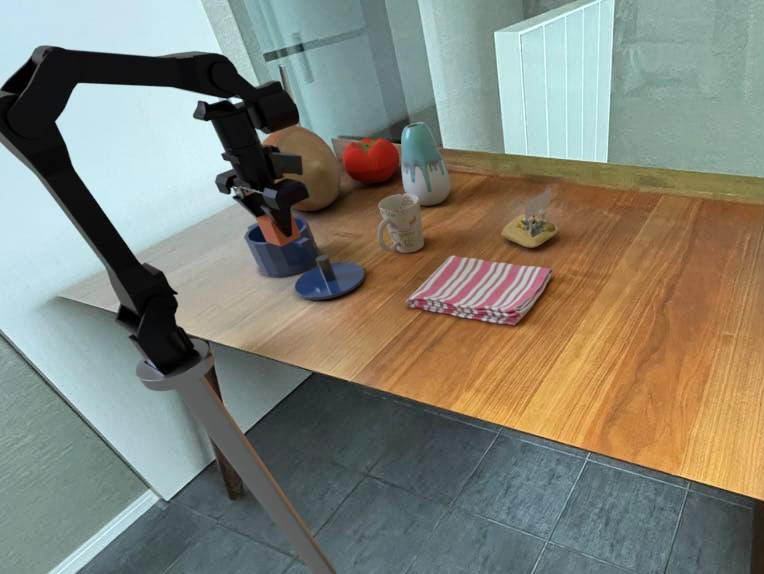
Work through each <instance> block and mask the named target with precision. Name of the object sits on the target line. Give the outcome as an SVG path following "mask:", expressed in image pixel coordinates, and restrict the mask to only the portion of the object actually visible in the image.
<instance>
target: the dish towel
mask: <svg viewBox="0 0 764 574" xmlns="http://www.w3.org/2000/svg"><path fill="white" fill-rule="evenodd" d="M553 272H554V269H553V268H551V267H543V266H534V265H532V266H530V265H516V264H513V263H506V262H498V261H487V260H484V259H479V258H475V257H462V256H456V255H454V254H452V255H450V256H449V257H448V258H447V259H446V260H445V261H444V262H443V263H442V264H441V265H440V266H439V267H438V268H437V269H436V270H434V272H433V273H432V274H431V275H430V276H429V277H428V278H427V279H426V280H425V281H424V282H423V283H422V284H421V285H420V286H419V287H418V289H416V290H415V291H414V292H413V293H412V294H410V295H409V296H408V298H407V299H406V300H405V303H406V305H407V306H409V307H410V308H412V309H418V310H419V309H421V310H424V311H427V312H428V311H429V312H433V313H440V314H446V315H450V316H454V317H458V318H463V319H469V320H476V321H482V322H485V323H492V324H498V325H509V326H513V327H514V326H516V325H517V323H518V322H520V321H521V319H523V318H524V316H526V314H527V313H528V312H529V311H530V310H531V309H532V307H533V306H534V304H535V303H536V301H537V299H538V298H539V297H540V296H541V294H542V293H543V292H544V291H545V288H546V286H547V284H548V282H549V281H550V279H551V276H552V275H553Z"/></svg>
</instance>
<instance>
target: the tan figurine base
mask: <svg viewBox="0 0 764 574" xmlns="http://www.w3.org/2000/svg"><path fill="white" fill-rule="evenodd" d="M551 195H552V187H551V186H550V187H548V188H547V189H546V190H544V191H543V192H542V193H540V194H538V195H536V196H535V197H534V198H532V199H530V201H528V202H526V203H525V204H524V213H523V214H521V215H520V216H518V217H516V218H514V219H513V220H511V221H510V222H508V223H507V224H505V226H504V227H503V228H502V230H501V232H500V237H502V238H504V239H507V240H509V241H510V242H513V243H515V244H518V245H519V246H522V247H524V248H531V249H534V248H535V247H536V248H537V247H539V246H540V245H542V244H544V243H545V242H546V241H548V240H550V239H552V238H553V237H554V236H555V235H557V234H558V232H559V227H558V226H557V225H556V224H554V222H551V221H550V220H547V219H546V214H548V209H545V207H547V206H548V205H549V204H550V203H551V198H552V197H551ZM565 202H567V200H565ZM537 213H538V214H539V215H538V216H536V214H537Z"/></svg>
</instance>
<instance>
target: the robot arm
mask: <svg viewBox="0 0 764 574" xmlns="http://www.w3.org/2000/svg"><path fill="white" fill-rule="evenodd" d="M78 84H91V85H92V84H93V85H109V86H111V85H112V86H132V87H133V86H134V87H135V86H137V87H154V88H155V87H156V88H157V87H158V88H170V89H176V90H179V91H180V90H181V91H185V92H189V93H194V94H198V95H202V96H207V97H213V98H219V99H223V100H219V101H216V102H213V103H209V102H208V101H204V100H200V99H199V100H197V103H196V104H197V105H196V108H195V109H194V111H193V114H192V118H193V119H195V120H199V121H203V122H210V123H211V124H212V127H213V129H214V130H215V133H216V136H217V137H218V139H219V140H218V141H219V142H220V144H221V146H222V148H223V150H224V152H222V153H220V155H221V158H222V159H223V161H225V162H229V163H230V165H231V167H232V168H231V169H229V170H226V171H223V172H220V173H218V174H217V175H216V177H215V181H214V183H215V186H216V187H217V189H218V192H219V193H220V194H223V195H231V194H232V190H233V192H234V194H235V195H232V196H231V198H232V199H233V201H235V202H237V203H238V204H239V205H240V206H241V207H242V208H243V209H245V210H246V211H247V212H248V213H249V214H250V215H251V216H253V218H255V219H256V218H257V217H260V216H262V215H264V214H267V215H268V216H269V217H270V219H271V220H272V221H273V222H274V223H275V225H276V226H277V227H278V228H279V229H280V231H281V232H282V233H283V234H284V235H285V236H286V237H290V236H292V223H291V213H292V208H291V206H292V205H294V204H296V203H298V202H301V201H303V200H305V199H307V198H309V197H310V194H309V191H308V189H307V186H306V184H304V183H302V182H300V181H297V180H293V179H289V178H286V179H284V180H282V181H279V182H277V183H275V181H274V180H276V179H278V180H279V179H281V178H283V177H284V176H283V174H297V175H303V167H302V156H301V155H296V154H291V153H285V152H280V150H279V148H278V147H277V146H273V145H262V141H261V139H260V136H259V134H258V132H257V131H260V132H262V133H263V134H265V135H268V136H269V135H270V134H272V133H274V132H277V131H279V130H282V129H285V128H288V127H291V126H297V125H298V124H299V123H300V118H301V117H300V112H299V111H300V110H299V108H298V105H297V103H295V102H294V99H293V98H292V97H291V95H290V94H289V92H288V91H286V90H285V89H284V88H283V85H282V82H281V81H280V80H274V79H273V80H272V79H271V80H269V81H266V82H264V83H263V84H260V85H256V86H254V85H253V84H252V83H250V82H249V80H247V79H246V78H244V76H242V75H241V74H240V73H239V72H238V69H237V68H236V66H235V64H234V62H232V61H231V60H230V59H229V57H228V56H226V55H224V54H221V53H217V52H210V51H209V52H208V51H201V50H192V51H183V52H173V53H168V54H163V55H155V56H153V55H140V54H129V53H117V52H107V51H106V52H105V51H104V52H103V51H95V50H94V51H93V50H81V49H69V48H68V49H67V48H65V47H62V46H56V45H48V44H43V45H39V46H37V47H34V50H33V51H32V53H31V55H30V56H29V58H28V59H27V60H26V61H25V62H24V63H23V64H22V65H21V66H20V67H19V68H18V69H17V70H15V72H14V73H13V74H12V75H10V76H9V77H8V78H7V79H6V81H4V83H3V84H2V86H1V87H0V144H2V146H3V147H4V148H5V149H6V150H8V151H9V152H10V153H11V154H12V155H13V156H14V157H15V158H16V159H17V160H19V162H21V163H22V164H23V165H24V166H25V167H27V169H29V170H30V171H31V172H32V173H33V174H34V175H35V176H36V178H38V180H39V181H40V183H41V184H42V185H43V187H44V189H46V191H47V192H48V193H49V195H50V196H51V197H52V199H53V201H55V203H56V204H57V205H58V206H59V208H60V209H61V211H62V212H63V213H64V214H65V216H66V217H67V219H68V220H69V221H70V222H71V224H72V226H74V228H75V229H76V230H77V232H78V234H80V236H81V237H82V238H83V240H84V241H85V242H86V243H87V245H88V246H89V248H90V249H91V250H92V251H93V253H94V254H95V255H96V257H97V258H98V259H99V261H100V263H101V264H102V265H103V267H104V268H105V269H106V272H107V276H108V279H109V283H110V285H111V287H112V290H113V291H114V293H115V295H116V297H117V299H118V301H119V306H118V310H117V312H116V316H115V318H114V322H115V323H116V324H117V325H119V326H120V327H122V328H123V329H125V330H126V331H128V332H129V333H130V335H128V337H127V338H128V339H129V341H130V342H131V343H132V344H133V346H134V347H135V348H136V350H137V351H138V352H139V354H140V355H141V356H142V359H143V358H144V359H145V361H144V363H145V364H146V365H147V366H149V367H150V368H152V369H154V370H155V371H157V372H159V373H160V374H162V375H166V374H168V373H169V372H171V371H173V370H174V369H176V368H178V367H179V366H181V365H183V364H184V363H186V362H188V361H189V360H191V359H193V358H194V357H196V356H198V355H199V352H198V351H197V350H195V349H193V348H194V347H195V346H194V344H193V343H192V341H191V339H192V338H191V337H190V336H189V335H188V333H187V332H186V330H185V329H184V327H182V326H180V325H178V324H177V319H176V313H177V310H178V308H179V302H178V300H177V297H176V296H177V295H179V292H178V291H176V290H174V288H172V286H171V285H170V282H169V281H168V278H167V276H166V275H165V273H164V271H162V270H161V269H159V268H157V267H155V266H153V265H151V264H150V263H148V262H143V263H141V262H140V261H139V259H138V258H137V257H136V255H135V254H134V252H133V251H132V250H131V248H130V247H129V245H128V244H127V243H126V241H125V240H124V238H123V237H122V236H121V234H120V233H119V231H118V230H117V228H116V227H115V225H114V224H113V222H112V221H111V220H110V218H109V216H107V214H106V212H105V211H104V210H103V208H102V207H101V206H100V204H99V203H98V201H97V199H96V198H95V197H94V196H93V195H94V194H92V192H91V191H90V190H89V188H88V186H87V185H86V184H85V182H84V181H83V179H82V178H81V176H79V174H78V172H77V171H76V169H75V168H74V165H73V161H72V158H71V156H70V152H69V149H68V145H67V144H66V141H65V139H64V137H63V135H62V133H61V131H60V128H59V126H58V124H57V120H58V119H59V117H60V116H61V115H62V113H63V112H64V111H65V109H66V107H67V104H68V102H69V100H70V98H71V96H72V93H73V91H74V90H75V88H76V87H77V86H78ZM227 99H239V100H242V101H239V102H236V103H232V102H231V101H230V100H227ZM175 295H176V296H175Z"/></svg>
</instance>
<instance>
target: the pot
mask: <svg viewBox="0 0 764 574" xmlns="http://www.w3.org/2000/svg"><path fill="white" fill-rule="evenodd" d="M293 217H294V220H295V222H296V224H297V227H298V229H299V232H300V234H301V237H299V238H297V239H295V240H293V241H291V242H289V243H287V244H286V245H284V246H282V247H281V246H278V245H275V244H272V243H269V242H266V239H265V237H264V235H263V233H262V231H261V229H260V227H259V224H258V222H255V223H253V224H251V225H249V226H247V227H246V228H247V229H248V230H247V231H246V232H245V234H244V235H243V239H244V241H245V243H246V245H247V247H248V249H249V251H250V252H251V255H252V257H253V259H254V261H255V263H256V265H257V267H258V269H259V270H260V273H261V274H262V275H264V276H266V277H270V278H285V277H291V276H294V275H298V274H301V273H303V272H305V271H306V272H307V271H308V270H310V269H312V267H314V266H316V265H317V262H316V258H317V257H319V256H321V253H320V249H319V247H318V245H317V242H316V240H315V238H314V235H313V232H312V230H311V227H310V224H309V222H308V221H307V220H306V218H303V217H301V216H293Z"/></svg>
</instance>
